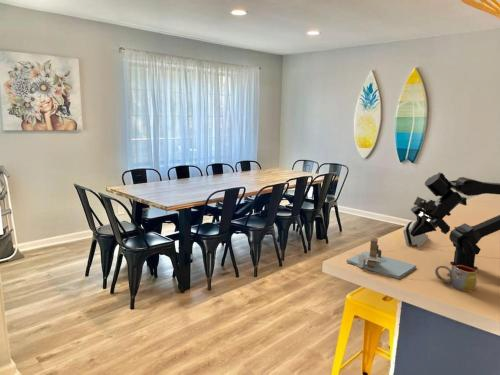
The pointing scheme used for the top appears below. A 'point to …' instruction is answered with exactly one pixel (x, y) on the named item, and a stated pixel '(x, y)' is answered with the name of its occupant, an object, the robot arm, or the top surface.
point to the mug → (460, 277)
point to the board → (386, 266)
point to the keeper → (363, 258)
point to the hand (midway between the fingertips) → (411, 235)
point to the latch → (374, 252)
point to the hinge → (409, 238)
